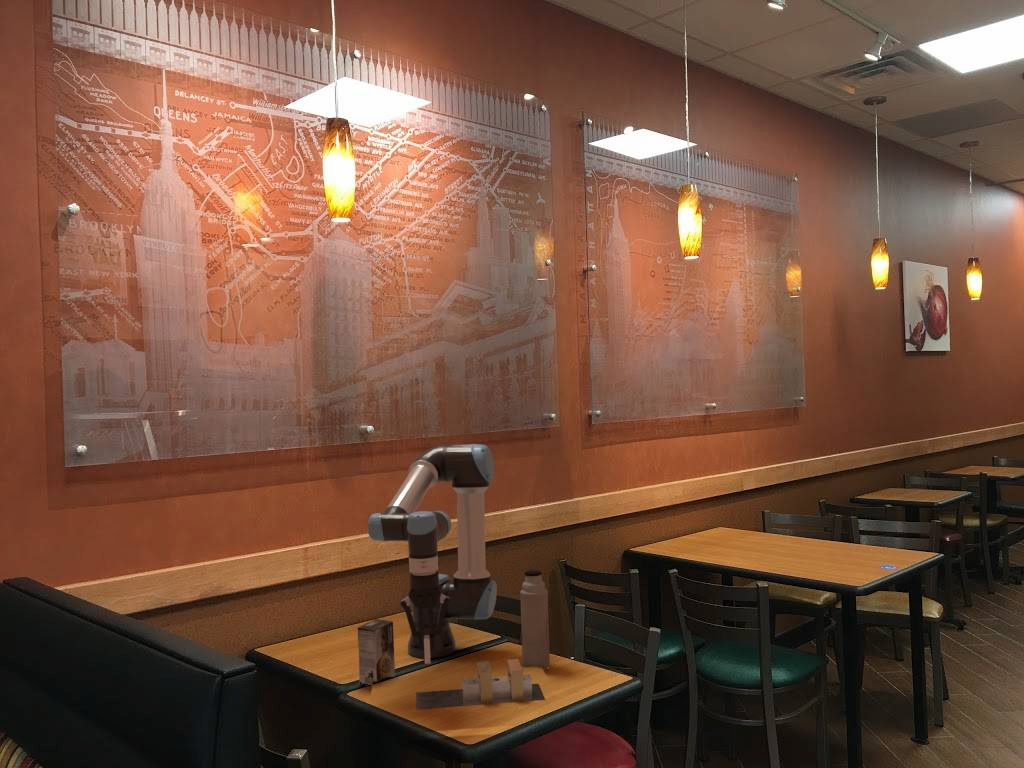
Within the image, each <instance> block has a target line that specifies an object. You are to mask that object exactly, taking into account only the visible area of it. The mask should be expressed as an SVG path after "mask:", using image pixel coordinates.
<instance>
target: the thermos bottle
mask: <svg viewBox="0 0 1024 768" xmlns="http://www.w3.org/2000/svg"><path fill="white" fill-rule="evenodd" d="M524 575H525V576H524V578H525V579H524V580H525V581H523V582H522V586H521V588H522V589H521V590H520V591H519V592H520V595H519V597H520V619H521V620H520V622H521V626H520V627H521V629H520V630H521V654H522V657H521V658H522V659H521V660H522V668H533V667H534V668H535V667H541V668H542V670H543V671H545V670H544V669H547V668H548V667H549V666H551V663H550V662H551V661H550V657H551V656H550V633H549V632H550V630H549V629H550V627H549V602H548V601H549V600H548V599H549V597H548V594H549V593H548V589H546V582H544V580H542V579H543V577H542V571H541V570H538V569H537V570H536V569H534V570H533V569H532V570H531V569H530V570H526V571H524ZM549 668H550V667H549ZM549 668H548V669H549ZM548 669H547V670H548Z"/></svg>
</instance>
